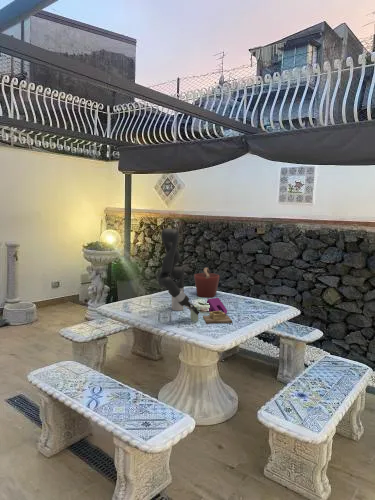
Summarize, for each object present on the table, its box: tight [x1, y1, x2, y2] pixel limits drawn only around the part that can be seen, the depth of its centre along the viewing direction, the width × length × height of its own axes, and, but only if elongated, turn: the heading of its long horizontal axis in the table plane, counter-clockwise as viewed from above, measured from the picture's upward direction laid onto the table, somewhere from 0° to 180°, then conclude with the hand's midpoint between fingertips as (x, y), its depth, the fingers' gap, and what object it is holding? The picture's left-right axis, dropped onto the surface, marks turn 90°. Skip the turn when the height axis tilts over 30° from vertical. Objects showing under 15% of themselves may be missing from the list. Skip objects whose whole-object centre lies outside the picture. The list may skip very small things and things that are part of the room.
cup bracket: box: [202, 311, 233, 325], centre depth 260 cm, size 14×18×6 cm
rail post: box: [189, 304, 199, 322], centre depth 260 cm, size 4×4×10 cm
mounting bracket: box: [206, 297, 228, 315], centre depth 280 cm, size 9×8×18 cm
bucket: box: [193, 267, 221, 299], centre depth 332 cm, size 24×22×25 cm
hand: (195, 312), depth 260 cm, fingers open, 8 cm apart
